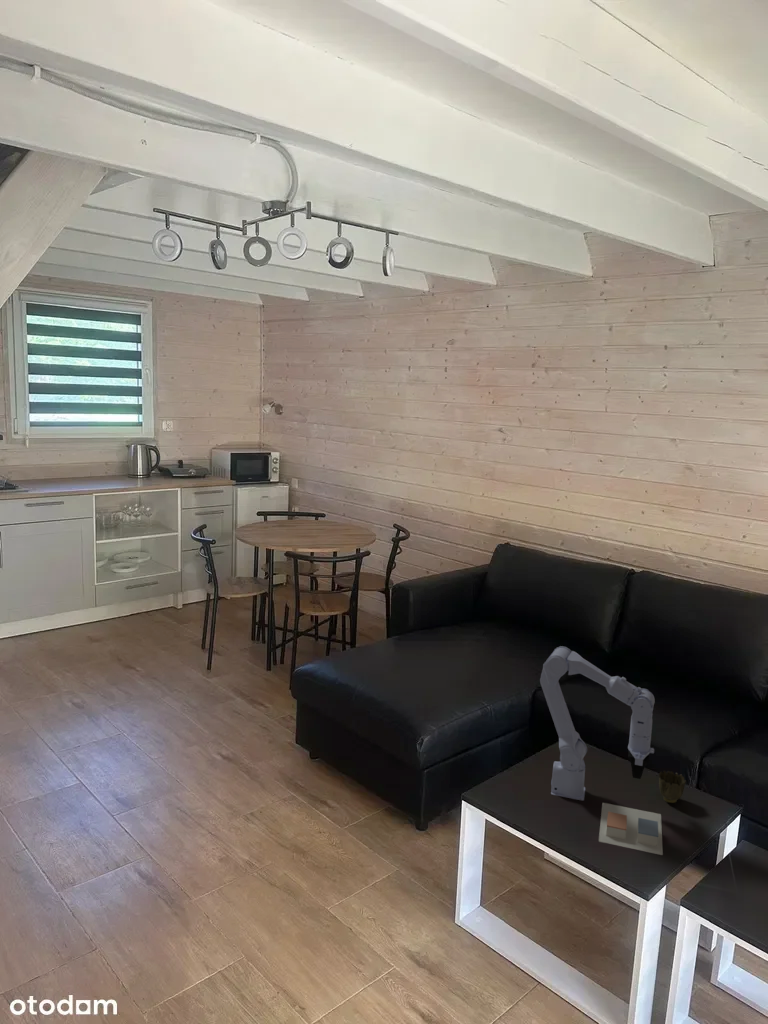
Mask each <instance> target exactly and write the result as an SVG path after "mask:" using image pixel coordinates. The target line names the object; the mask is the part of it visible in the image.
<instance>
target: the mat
mask: <svg viewBox="0 0 768 1024" xmlns="http://www.w3.org/2000/svg"><path fill="white" fill-rule="evenodd" d="M608 812H613V813H618V814H623V815H627V827H626V840H625V839H620V838H616V837H611V836H606V830H607V818H608ZM600 815H601V816H600V826H599V831H598V832H599V834H598V842H599V843H603V844H609V845H613V846H617V847H623V848H627V849H632V850H637V851H641V852H646V853H649V854H655V855H658V856H659V855H660V856H663V855H664V853H663V834H662V832H663V831H662V829H663V828H662V814H661V813H656V812H653V811H648V810H647V811H646V810H643V809H642V810H641V809H637V808H632V807H626V806H622V805H617V804H611V803H608V802H602V804H601V814H600ZM638 818H642V819H647V820H652V821H657V822H658V845H657V846H653V845H649V844H644V843H639V842H637V831H638Z"/></svg>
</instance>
